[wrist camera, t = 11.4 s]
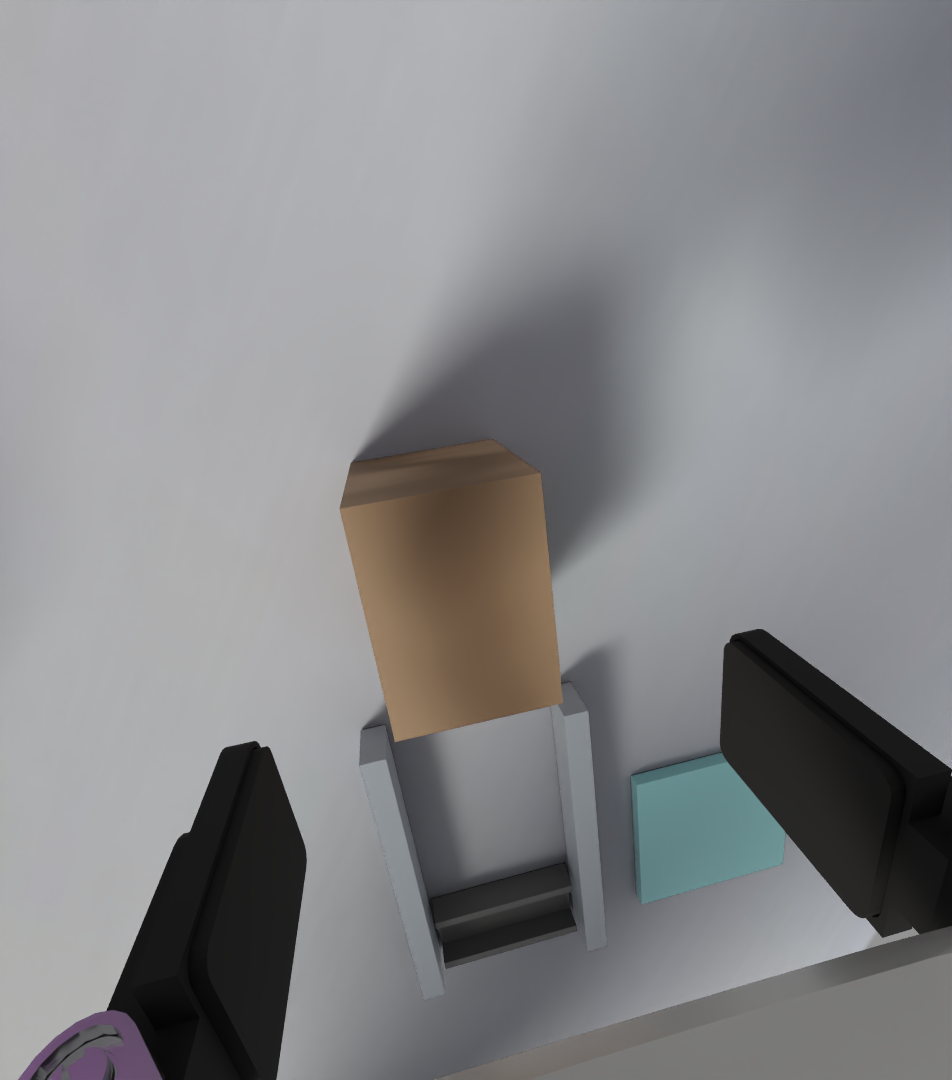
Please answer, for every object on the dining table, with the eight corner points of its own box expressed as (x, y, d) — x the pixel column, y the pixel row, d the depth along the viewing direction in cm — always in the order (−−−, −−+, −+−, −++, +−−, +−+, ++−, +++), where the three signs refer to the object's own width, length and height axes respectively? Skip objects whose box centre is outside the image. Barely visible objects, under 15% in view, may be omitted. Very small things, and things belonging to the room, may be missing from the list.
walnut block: (390, 638, 21) (394, 742, 15) (351, 462, 18) (339, 509, 13) (514, 612, 21) (562, 703, 16) (492, 438, 19) (540, 472, 13)
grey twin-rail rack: (420, 955, 26) (423, 1000, 25) (360, 730, 22) (359, 765, 20) (591, 906, 28) (607, 946, 26) (570, 681, 23) (588, 710, 21)
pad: (636, 893, 28) (641, 904, 27) (631, 775, 25) (636, 785, 24) (774, 854, 29) (782, 864, 28) (784, 736, 26) (793, 744, 25)
